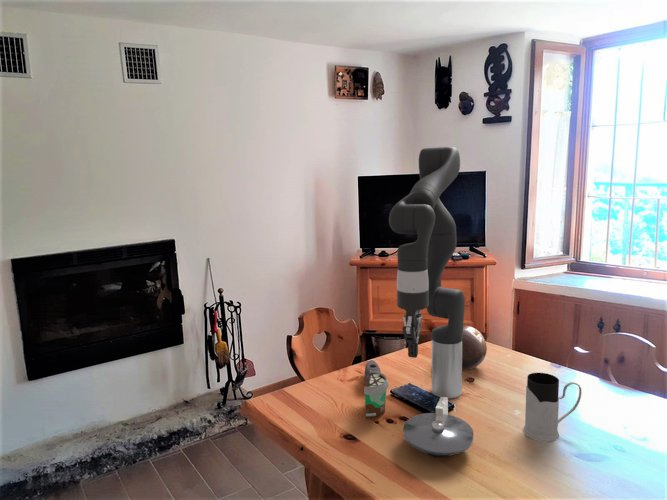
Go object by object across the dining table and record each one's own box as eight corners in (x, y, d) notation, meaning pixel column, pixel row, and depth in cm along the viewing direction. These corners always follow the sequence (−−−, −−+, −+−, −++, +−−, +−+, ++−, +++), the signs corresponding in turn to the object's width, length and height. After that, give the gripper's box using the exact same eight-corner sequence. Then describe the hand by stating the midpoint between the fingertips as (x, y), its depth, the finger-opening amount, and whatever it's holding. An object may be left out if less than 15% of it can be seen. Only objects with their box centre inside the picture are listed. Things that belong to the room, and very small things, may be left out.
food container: (387, 422, 135) (386, 389, 134) (365, 421, 137) (364, 387, 135) (390, 402, 147) (390, 370, 146) (370, 400, 148) (369, 369, 147)
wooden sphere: (482, 379, 161) (483, 335, 158) (437, 372, 167) (437, 330, 165) (489, 362, 174) (490, 322, 172) (447, 357, 181) (447, 318, 178)
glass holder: (518, 424, 133) (519, 371, 130) (571, 423, 132) (574, 370, 130) (530, 441, 124) (532, 386, 121) (587, 441, 123) (590, 385, 121)
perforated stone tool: (364, 373, 169) (363, 354, 168) (379, 373, 169) (379, 353, 168) (365, 392, 154) (365, 372, 153) (382, 392, 154) (381, 371, 153)
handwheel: (467, 461, 111) (467, 434, 109) (395, 446, 117) (394, 421, 116) (477, 425, 126) (478, 401, 125) (413, 413, 133) (413, 391, 132)
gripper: (423, 295, 109) (424, 368, 112) (432, 282, 122) (432, 348, 125) (391, 293, 112) (392, 365, 115) (402, 280, 124) (403, 345, 127)
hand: (413, 356), depth 120 cm, fingers closed
